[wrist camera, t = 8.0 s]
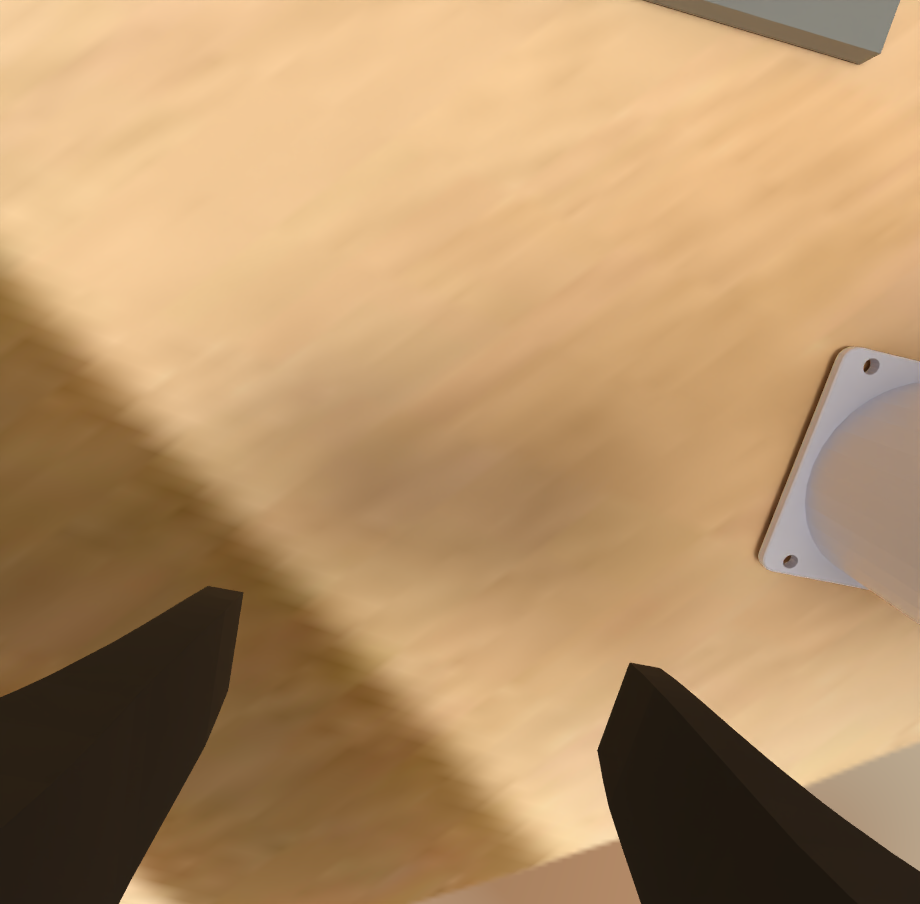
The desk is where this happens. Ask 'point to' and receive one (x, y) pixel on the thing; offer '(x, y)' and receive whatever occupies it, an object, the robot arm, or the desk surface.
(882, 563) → the robot arm
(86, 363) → the desk surface
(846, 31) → the base board
